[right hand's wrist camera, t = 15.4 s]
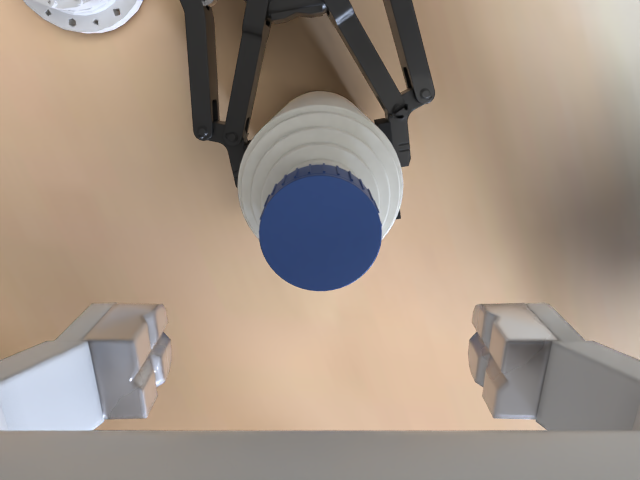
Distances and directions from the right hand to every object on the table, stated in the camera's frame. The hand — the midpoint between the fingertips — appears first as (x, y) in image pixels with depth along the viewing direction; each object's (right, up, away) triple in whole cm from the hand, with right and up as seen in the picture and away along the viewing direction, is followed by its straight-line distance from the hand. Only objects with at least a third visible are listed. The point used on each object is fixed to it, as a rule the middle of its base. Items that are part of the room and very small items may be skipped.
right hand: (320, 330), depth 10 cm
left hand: (+1, +3, +22) cm, 23 cm away
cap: (0, +2, +6) cm, 7 cm away
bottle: (0, +10, +27) cm, 29 cm away
